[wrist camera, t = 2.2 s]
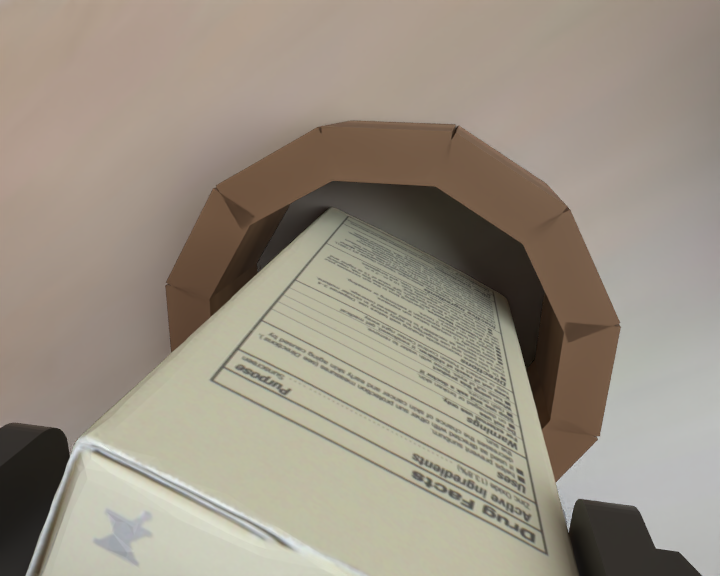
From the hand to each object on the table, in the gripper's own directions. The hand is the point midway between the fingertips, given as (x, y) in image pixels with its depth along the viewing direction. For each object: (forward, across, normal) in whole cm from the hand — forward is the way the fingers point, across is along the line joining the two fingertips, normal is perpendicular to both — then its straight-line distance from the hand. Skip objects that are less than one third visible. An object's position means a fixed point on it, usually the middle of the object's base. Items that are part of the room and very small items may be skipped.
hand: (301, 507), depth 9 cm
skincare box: (+10, 0, 0) cm, 10 cm away
